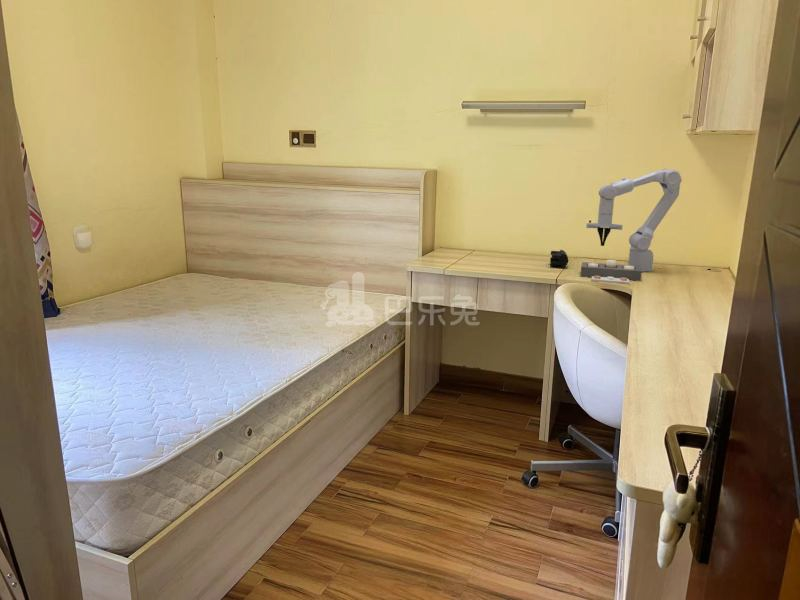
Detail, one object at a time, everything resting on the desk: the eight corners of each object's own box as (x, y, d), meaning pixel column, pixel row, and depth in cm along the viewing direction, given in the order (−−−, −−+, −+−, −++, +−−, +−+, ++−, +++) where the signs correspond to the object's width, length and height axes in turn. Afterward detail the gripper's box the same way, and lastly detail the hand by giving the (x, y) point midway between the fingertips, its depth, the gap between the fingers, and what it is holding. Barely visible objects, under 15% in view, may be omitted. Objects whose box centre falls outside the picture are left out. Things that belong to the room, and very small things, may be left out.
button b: (615, 269, 251) (616, 259, 250) (615, 271, 247) (616, 261, 246) (605, 268, 252) (606, 259, 251) (605, 270, 248) (606, 261, 247)
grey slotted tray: (638, 275, 252) (640, 266, 251) (640, 281, 242) (641, 271, 241) (581, 271, 259) (582, 262, 258) (580, 276, 249) (581, 266, 248)
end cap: (567, 269, 263) (569, 253, 262) (550, 268, 265) (552, 253, 263) (566, 264, 273) (567, 249, 271) (549, 263, 274) (551, 249, 272)
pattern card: (628, 280, 242) (629, 277, 241) (629, 284, 236) (629, 280, 236) (591, 278, 246) (592, 274, 245) (591, 281, 240) (592, 277, 240)
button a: (633, 275, 249) (634, 265, 248) (633, 277, 246) (634, 267, 245) (622, 274, 251) (623, 265, 250) (623, 276, 247) (624, 266, 246)
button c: (597, 272, 253) (598, 263, 252) (597, 274, 250) (598, 265, 249) (587, 271, 255) (588, 262, 254) (587, 273, 251) (588, 264, 250)
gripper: (623, 213, 259) (619, 245, 262) (587, 212, 263) (585, 243, 266) (623, 215, 252) (620, 247, 256) (587, 213, 256) (584, 245, 260)
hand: (602, 245), depth 261 cm, fingers closed
